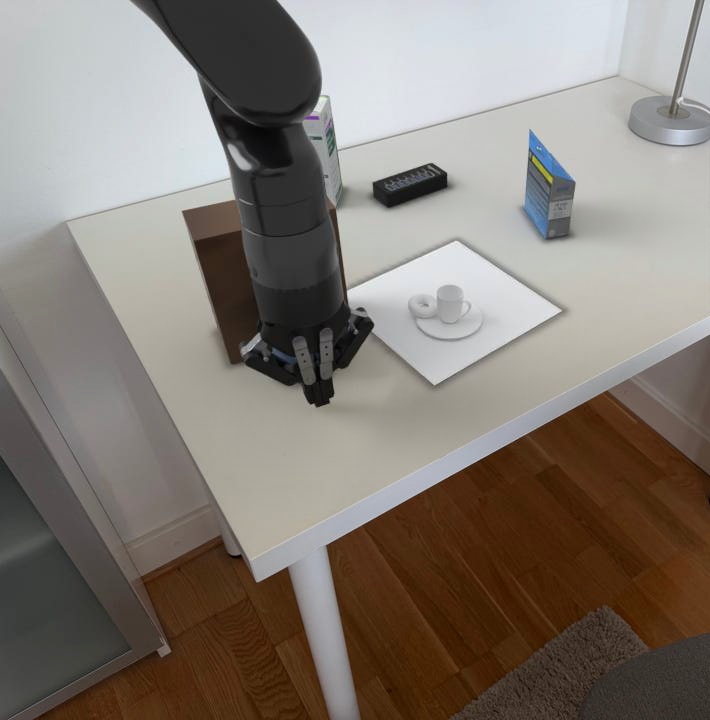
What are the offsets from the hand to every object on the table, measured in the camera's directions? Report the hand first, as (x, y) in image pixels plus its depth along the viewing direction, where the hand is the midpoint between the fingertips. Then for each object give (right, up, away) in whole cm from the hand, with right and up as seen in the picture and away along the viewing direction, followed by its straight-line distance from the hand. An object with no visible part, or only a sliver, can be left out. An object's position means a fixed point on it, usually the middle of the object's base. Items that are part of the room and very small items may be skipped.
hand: (320, 400), depth 70 cm
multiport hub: (+6, +30, +34) cm, 45 cm away
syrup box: (-7, +28, +32) cm, 43 cm away
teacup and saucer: (+12, +11, +14) cm, 22 cm away
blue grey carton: (+26, +24, +29) cm, 45 cm away
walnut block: (-6, +8, +10) cm, 14 cm away
